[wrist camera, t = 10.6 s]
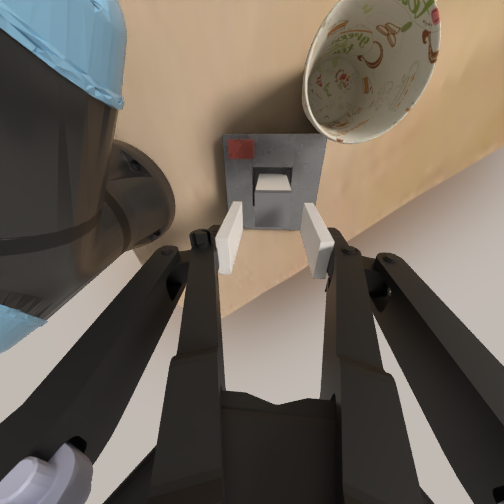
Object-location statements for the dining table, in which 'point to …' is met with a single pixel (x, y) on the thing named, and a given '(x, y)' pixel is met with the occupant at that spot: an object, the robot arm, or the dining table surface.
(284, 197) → the plug
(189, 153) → the dining table surface
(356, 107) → the mug
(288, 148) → the socket plate
